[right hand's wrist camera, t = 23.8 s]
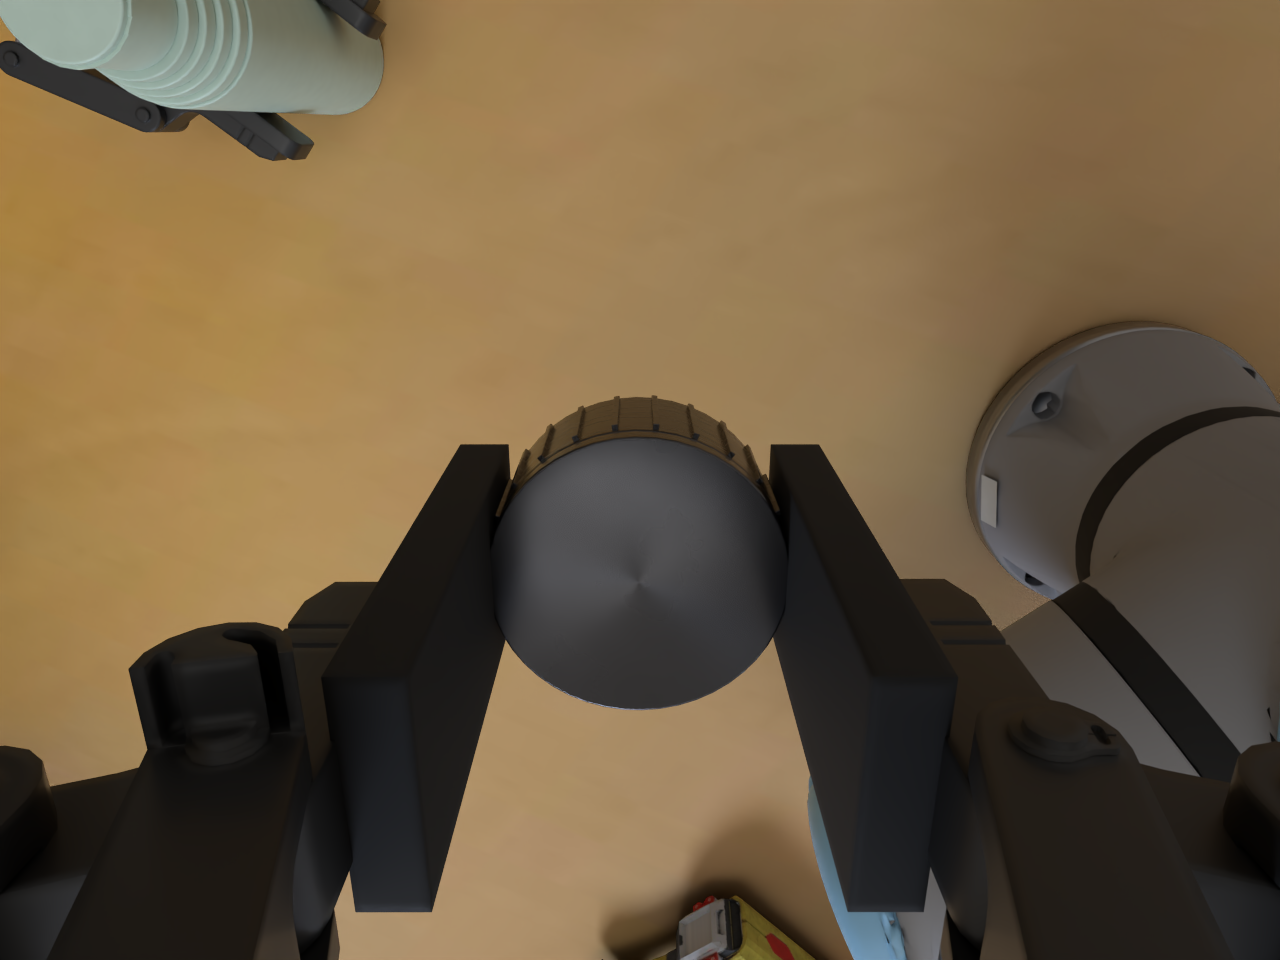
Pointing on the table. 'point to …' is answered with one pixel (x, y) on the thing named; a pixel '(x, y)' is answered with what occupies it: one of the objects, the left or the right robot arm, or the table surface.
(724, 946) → the toy gun
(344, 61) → the bottle
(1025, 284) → the table surface
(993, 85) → the table surface
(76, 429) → the table surface
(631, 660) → the cap
